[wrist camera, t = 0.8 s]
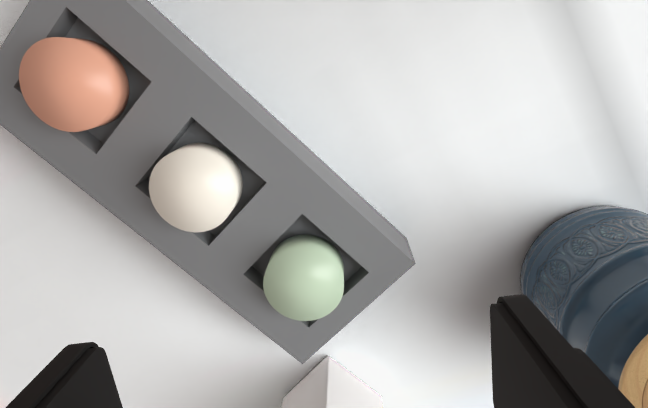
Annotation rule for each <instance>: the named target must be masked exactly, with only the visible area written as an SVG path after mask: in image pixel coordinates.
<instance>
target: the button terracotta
mask: <svg viewBox="0 0 648 408" xmlns="http://www.w3.org/2000/svg"><path fill="white" fill-rule="evenodd" d="M19 83H20V88H21V91H22V94H23V97H24V99H25V101H26V103H27V104H28V106H29V107H30V109H31V110H32V111H33V113H34V114H35V115H36V116H37V117H38V118H39V119H41V120H42V121H43V122H45V123H46V124H48V125H49V126H51V127H53V128H56V129H58V130H62V131H66V132H80V131H84V130H88V129H92V128H95V127H99V126H102V125H106V124H108V123H111V122H112V121H114V120H115V119H117V118H118V117H119V116H120V115H121V114H122V112H123V111H124V109H125V107H126V105H127V102H128V98H129V81H128V77H127V74H126V71H125V69H124V67H123V65H122V64H121V62H120V61H119V59H118V58H117V57H116V56H115V55H114V54H113V53H112V52H111V51H110V50H109V49H108V48H106V47H105V46H103V45H102V44H100V43H97V42H95V41H92V40H88V39H78V38H65V37H50V38H45V39H42V40H40V41H38V42H36V43H35V44H33V45H32V46H31V47H30V48H29V49H28V50H27V51H26V53H25V54H24V56H23V58H22V61H21V64H20V68H19Z"/></svg>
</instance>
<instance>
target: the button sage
mask: <svg viewBox="0 0 648 408" xmlns="http://www.w3.org/2000/svg"><path fill="white" fill-rule="evenodd" d="M263 288H264V293H265V296H266V298H267V300H268V302H269V303H270V305H271V306H272V307H273V308H274V309H275V310H276V311H277V312H279V313H280V314H282V315H283V316H285V317H288V318H290V319H293V320H298V321H312V320H317V319H320V318H322V317H325V316H326V315H328V314H330V313H331V312H332V311H333V310H334V309H335V308H336V307H337V306H338V304H339V303H340V301H341V299H342V296H343V292H344V264H343V260H342V258H341V255H340V253H339V252H338V250H337V249H336V248H335V247H334V246H333V245H332V244H331V243H330V242H328V241H327V240H325V239H323V238H321V237H318V236H314V235H297V236H293V237H290V238H288V239H286V240H284V241H283V242H281V243H280V244H279V245H278V246H277V247H276V248H275V250H274V251H273V253H272V255H271V258H270V260H269V263H268V266H267V269H266V271H265V275H264V279H263Z"/></svg>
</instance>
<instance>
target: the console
mask: <svg viewBox="0 0 648 408" xmlns="http://www.w3.org/2000/svg"><path fill="white" fill-rule="evenodd" d="M50 37H65V38H78V39H88V40H92V41H95V42H97V43H100V44H102V45H103V46H105V47H106V48H108V49H109V50H110V51H111V52H112V53H113V54H114V55H115V56H116V57H117V58H118V59H119V61H120V62H121V64H122V65H123V67H124V69H125V71H126V74H127V77H128V81H129V98H128V102H127V105H126V107H125V109H124V111H123V112H122V114H121V115H120V116H119V117H118V118H117V119H115V120H114V121H112V122H111V123H108V124H106V125H102V126H99V127H95V128H92V129H88V130H84V131H80V132H66V131H62V130H58V129H56V128H53V127H51V126H49V125H48V124H46V123H45V122H43V121H42V120H41V119H39V118H38V117H37V116H36V115H35V114H34V113H33V111H32V110H31V109H30V107H29V106H28V104H27V103H26V101H25V99H24V97H23V94H22V91H21V88H20V83H19V68H20V64H21V61H22V58H23V56H24V54H25V53H26V51H27V50H28V49H29V48H30V47H31V46H32V45H33V44H35V43H36V42H38V41H40V40H42V39H45V38H50ZM0 125H2V126H3V127H4V128H5V129H7V130H8V131H9V132H10V133H12V134H13V135H14V136H15V137H17V138H18V139H19V140H20V141H22V142H23V143H24V144H26V145H27V146H28V147H29V148H31V149H32V150H33V151H34V152H36V153H37V154H38V155H39V156H41V157H42V158H43V159H44V160H46V161H47V162H48V163H49V164H51V165H52V166H53V167H55V168H56V169H57V170H58V171H60V172H61V173H62V174H63V175H65V176H66V177H67V178H68V179H70V180H71V181H72V182H73V183H75V184H76V185H77V186H78V187H80V188H81V189H82V190H84V191H85V192H86V193H87V194H89V195H90V196H91V197H92V198H94V199H95V200H96V201H97V202H99V203H100V204H101V205H102V206H104V207H105V208H106V209H108V210H109V211H110V212H111V213H113V214H114V215H115V216H116V217H118V218H119V219H120V220H121V221H123V222H124V223H125V224H126V225H128V226H129V227H130V228H131V229H133V230H134V231H135V232H137V233H138V234H139V235H140V236H142V237H143V238H144V239H145V240H147V241H148V242H149V243H150V244H152V245H153V246H154V247H155V248H157V249H158V250H159V251H160V252H162V253H163V254H164V255H166V256H167V257H168V258H169V259H171V260H172V261H173V262H174V263H176V264H177V265H178V266H179V267H181V268H182V269H183V270H184V271H186V272H187V273H188V274H190V275H191V276H192V277H193V278H195V279H196V280H197V281H198V282H200V283H201V284H202V285H203V286H205V287H206V288H207V289H208V290H210V291H211V292H212V293H213V294H215V295H216V296H217V297H219V298H220V299H221V300H222V301H224V302H225V303H226V304H227V305H229V306H230V307H231V308H232V309H234V310H235V311H236V312H237V313H239V314H240V315H241V316H242V317H244V318H245V319H246V320H248V321H249V322H250V323H251V324H253V325H254V326H255V327H256V328H258V329H259V330H260V331H261V332H263V333H264V334H265V335H266V336H268V337H269V338H270V339H272V340H273V341H274V342H275V343H277V344H278V345H279V346H280V347H282V348H283V349H284V350H285V351H287V352H288V353H289V354H290V355H292V356H293V357H294V358H295V359H297V360H298V361H299V362H301V363H302V364H303V363H304V362H305V361H306V360H308V359H309V358H310V357H311V356H312V355H313V354H314V353H315V352H317V351H318V350H319V349H320V348H321V347H322V346H323V345H324V344H326V343H327V342H328V341H329V340H330V339H331V338H332V337H333V336H335V335H336V334H337V333H338V332H339V331H340V330H341V329H342V328H343V327H345V326H346V325H347V324H348V323H349V322H350V321H351V320H352V319H354V318H355V317H356V316H357V315H358V314H359V313H360V312H361V311H363V310H364V309H365V308H366V307H367V306H368V305H369V304H370V303H372V302H373V301H374V300H375V299H376V298H377V297H378V296H379V295H381V294H382V293H383V292H384V291H385V290H386V289H387V288H388V287H390V286H391V285H392V284H393V283H394V282H395V281H396V280H397V279H398V278H400V277H401V276H402V275H403V274H404V273H405V272H406V271H407V270H409V269H410V268H411V267H412V266H413V265H414V264H415V261H414V258H413V255H412V253H411V250H410V247H409V244H408V241H407V238H406V237H405V236H403V235H402V234H401V233H400V232H399V231H398V230H397V229H396V228H395V227H394V226H393V225H392V224H390V223H389V222H388V221H387V220H386V219H385V218H384V217H383V216H382V215H381V214H380V213H378V212H377V211H376V210H375V209H374V208H373V207H372V206H371V205H370V204H369V203H368V202H366V201H365V200H364V199H363V198H362V197H361V196H360V195H359V194H358V193H357V192H356V191H354V190H353V189H352V188H351V187H350V186H349V185H348V184H347V183H346V182H345V181H344V180H342V179H341V178H340V177H339V176H338V175H337V174H336V173H335V172H334V171H333V170H332V169H330V168H329V167H328V166H327V165H326V164H325V163H324V162H323V161H322V160H321V159H320V158H318V157H317V156H316V155H315V154H314V153H313V152H312V151H311V150H310V149H309V148H308V147H306V146H305V145H304V144H303V143H302V142H301V141H300V140H299V139H298V138H297V137H296V136H294V135H293V134H292V133H291V132H290V131H289V130H288V129H287V128H286V127H285V126H284V125H282V124H281V123H280V122H279V121H278V120H277V119H276V118H275V117H274V116H273V115H272V114H270V113H269V112H268V111H267V110H266V109H265V108H264V107H263V106H262V105H261V104H260V103H258V102H257V101H256V100H255V99H254V98H253V97H252V96H251V95H250V94H249V93H248V92H246V91H245V90H244V89H243V88H242V87H241V86H240V85H239V84H238V83H237V82H236V81H234V80H233V79H232V78H231V77H230V76H229V75H228V74H227V73H226V72H225V71H224V70H222V69H221V68H220V67H219V66H218V65H217V64H216V63H215V62H214V61H213V60H212V59H210V58H209V57H208V56H207V55H206V54H205V53H204V52H203V51H202V50H201V49H200V48H199V47H197V46H196V45H195V44H194V43H193V42H192V41H191V40H190V39H189V38H188V37H187V36H185V35H184V34H183V33H182V32H181V31H180V30H179V29H178V28H177V27H176V26H175V25H173V24H172V23H171V22H170V21H169V20H168V19H167V18H166V17H165V16H164V15H163V14H161V13H160V12H159V11H158V10H157V9H156V8H155V7H154V6H153V5H152V4H151V3H149V2H148V1H147V0H30V2H29V3H28V5H27V6H26V8H25V10H24V11H23V13H22V14H21V16H20V17H19V19H18V21H17V22H16V24H15V25H14V27H13V29H12V30H11V32H10V33H9V35H8V37H7V38H6V40H5V41H4V43H3V45H2V46H1V48H0ZM198 142H199V143H209V144H212V145H215V146H217V147H219V148H221V149H223V150H224V151H226V152H227V153H228V154H229V155H230V156H231V157H232V158H233V159H234V161H235V162H236V163H237V165H238V167H239V169H240V172H241V175H242V180H243V189H242V194H241V197H240V200H239V201H238V203H237V205H236V206H235V208H234V209H233V210H232V212H231V213H230V214H229V216H228V217H227V218H226V220H225V221H224V222H223V223H222V224H220V225H219V226H217V227H216V228H214V229H211V230H209V231H204V232H188V231H184V230H180V229H178V228H176V227H174V226H172V225H170V224H169V223H168V222H166V221H165V220H164V219H163V218H162V217H161V216H160V215H159V214H158V212H157V211H156V209H155V207H154V206H153V204H152V201H151V198H150V194H149V180H150V176H151V173H152V171H153V169H154V167H155V165H156V164H157V163H158V162H159V161H160V160H161V159H162V158H163V157H164V156H166V155H168V154H170V153H171V152H173V151H175V150H177V149H179V148H181V147H182V146H185V145H187V144H191V143H198ZM297 235H314V236H318V237H321V238H323V239H325V240H327V241H328V242H330V243H331V244H332V245H333V246H334V247H335V248H336V249H337V250H338V252H339V253H340V255H341V258H342V260H343V264H344V292H343V296H342V299H341V301H340V303H339V304H338V306H337V307H336V308H335V309H334V310H333V311H332V312H331V313H330V314H328V315H326V316H325V317H322V318H320V319H317V320H312V321H298V320H293V319H290V318H288V317H285V316H283V315H282V314H280V313H279V312H277V311H276V310H275V309H274V308H273V307H272V306H271V305H270V303H269V302H268V300H267V298H266V296H265V293H264V288H263V279H264V275H265V271H266V269H267V266H268V263H269V260H270V258H271V255H272V253H273V251H274V250H275V248H276V247H277V246H278V245H279V244H280V243H281V242H283V241H284V240H286V239H288V238H290V237H293V236H297Z"/></svg>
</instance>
